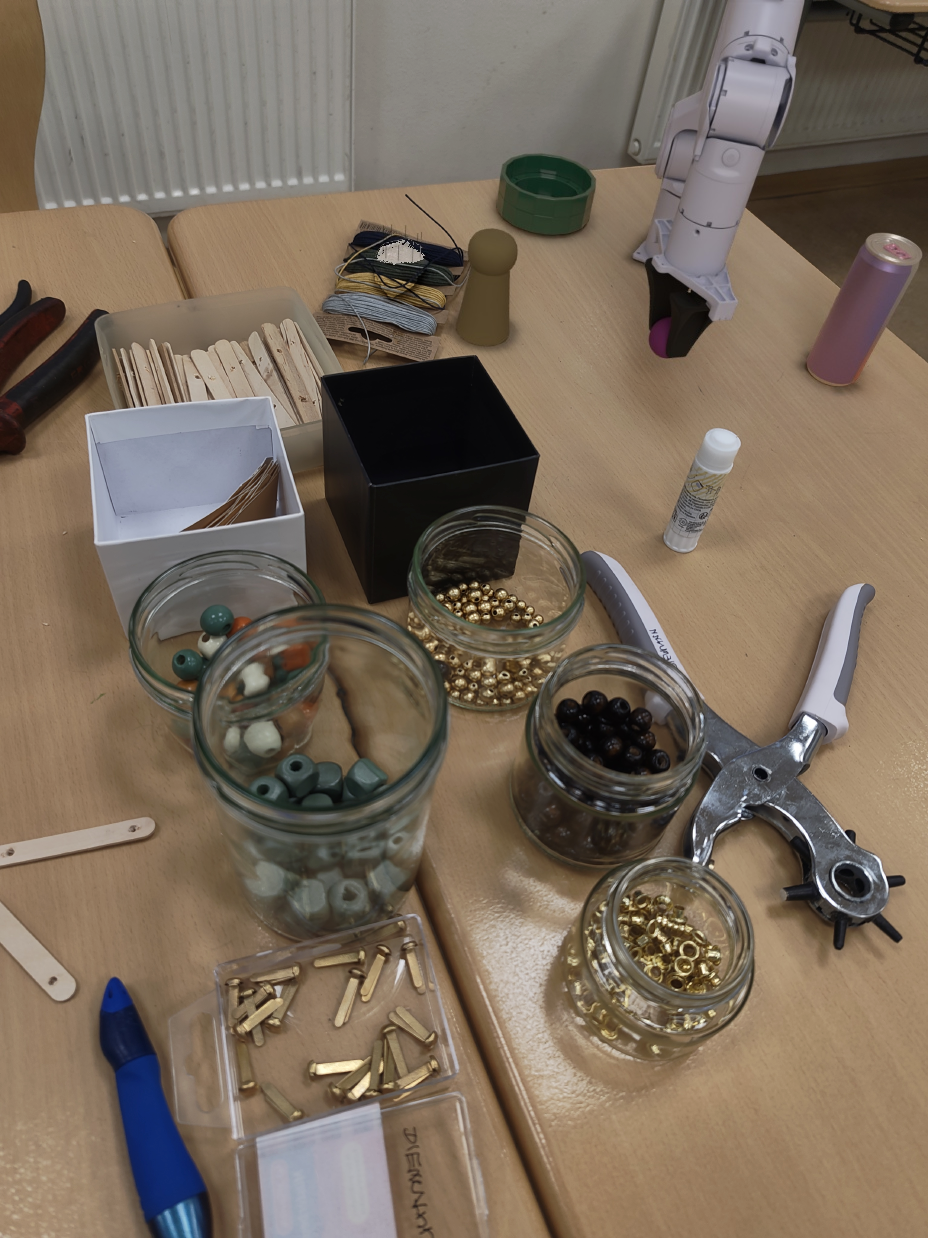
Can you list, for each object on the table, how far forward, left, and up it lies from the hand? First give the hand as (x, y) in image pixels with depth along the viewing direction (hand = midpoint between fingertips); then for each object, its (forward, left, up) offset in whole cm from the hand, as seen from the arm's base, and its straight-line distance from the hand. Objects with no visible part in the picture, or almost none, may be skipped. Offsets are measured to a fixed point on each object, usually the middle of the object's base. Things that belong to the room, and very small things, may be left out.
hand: (667, 342), depth 88 cm
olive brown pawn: (+2, -20, -6) cm, 21 cm away
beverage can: (-15, +16, -6) cm, 23 cm away
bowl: (-26, -26, -6) cm, 37 cm away
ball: (0, 0, -1) cm, 1 cm away
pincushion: (-2, -33, -6) cm, 34 cm away
